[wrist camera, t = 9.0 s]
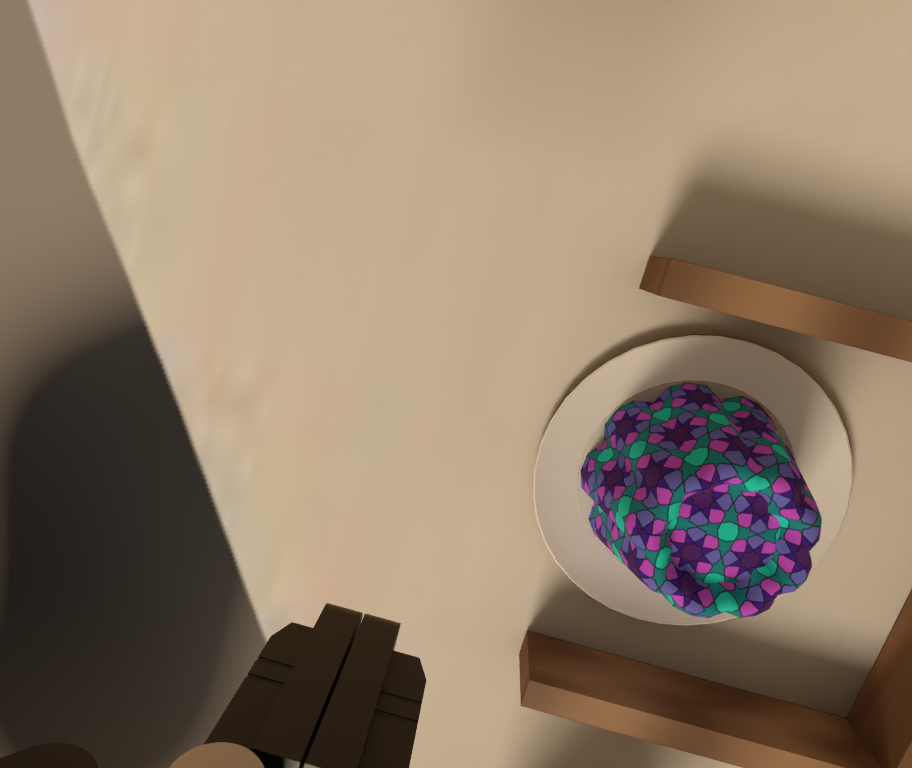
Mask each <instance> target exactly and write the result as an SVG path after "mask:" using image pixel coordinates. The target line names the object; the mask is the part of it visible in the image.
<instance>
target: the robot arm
mask: <svg viewBox="0 0 912 768" xmlns="http://www.w3.org/2000/svg"><path fill="white" fill-rule="evenodd" d="M362 616H363V613H361V612H357V611H354V610H350V609H347V608H343V607H339V606H336V605H332V604H329V603H327V604H326V605H325V607H324V609H323V611H322V613H321V614H320V616H319V618H318V620H317V622H316V624H315V626H314V628H311V627H307V626H303V625H300V624H296V623H293V622H292V623H290V624H289V625H287V626H286V627H284V628H283V629H281V630H280V631H278V632H277V633H275V634H274V635H272V636H271V637H270V639H269V640H268V642H267V644H266V645H265V647H264V648H263V650H262V652H261V653H260V655H259V657H258V660H256V661H255V663H254V665H253V666H252V668H251V669H250V671H249V673H248V676H247V677H245V679H244V681H243V682H242V684H241V686H240V687H239V689H238V690H237V692H236V694H235V695H234V697H233V699H232V700H231V702H230V703H229V705H228V706H227V708H226V710H225V711H224V713H223V715H222V716H221V718H220V719H219V721H218V723H217V724H216V726H215V727H214V729H213V731H212V732H211V734H210V735H209V737H208V739H207V740H206V742H205V743H204V745H202V746H198V747H196V748H194V749H192V750H190V751H188V752H187V753H185V754H183V755H182V756H181V757H180V758H179V759H177V760H176V761H175V762H174V763H173V764H172V766H171V767H170V768H409V764H410V759H411V754H412V749H413V744H414V739H415V734H416V729H417V723H418V719H419V714H420V709H421V704H422V699H423V694H424V689H425V684H426V678H425V674H424V671H423V668H422V665H421V661H420V658H418V657H414V656H411V655H407V654H403V653H400V652H396V651H394V648H395V644H396V640H397V636H398V632H399V628H400V624H401V623H397V622H394V621H390V620H386V619H383V618H379V617H376V616H372V615H369V614H365V615H364V618H363V620H362ZM361 621H362V622H361ZM0 768H98V765H97V762H96V760H95V759H94V757H93V756H92V755H91V754H90V753H89V752H88V751H86V750H85V749H83V748H81V747H78V746H76V745H73V744H66V743H47V744H41V745H36V746H32V747H29V748H26V749H24V750H21V751H18V752H16V753H13V754H10V755H8V756H5V757H3V758H0Z"/></svg>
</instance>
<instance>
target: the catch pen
mask: <svg viewBox="0 0 912 768" xmlns="http://www.w3.org/2000/svg"><path fill="white" fill-rule="evenodd" d="M640 289H643V290H645V291H648V292H651V293H653V294H656V295H659V296H662V297H666V298H670V299H674V300H677V301H681V302H685V303H689V304H693V305H696V306H700V307H704V308H708V309H712V310H715V311H719V312H723V313H727V314H731V315H734V316H738V317H742V318H746V319H750V320H753V321H757V322H761V323H765V324H769V325H772V326H776V327H780V328H784V329H787V330H791V331H795V332H799V333H803V334H806V335H810V336H814V337H818V338H822V339H825V340H829V341H833V342H837V343H841V344H844V345H848V346H852V347H856V348H860V349H863V350H867V351H871V352H875V353H879V354H882V355H886V356H890V357H894V358H898V359H901V360H905V361H909V362H912V321H908V320H904V319H900V318H897V317H893V316H889V315H885V314H881V313H878V312H874V311H870V310H866V309H862V308H858V307H855V306H851V305H847V304H843V303H839V302H836V301H832V300H828V299H824V298H820V297H817V296H813V295H809V294H805V293H801V292H797V291H794V290H790V289H786V288H782V287H778V286H775V285H771V284H767V283H763V282H759V281H755V280H752V279H748V278H744V277H740V276H736V275H733V274H729V273H725V272H721V271H717V270H714V269H710V268H706V267H702V266H698V265H694V264H691V263H687V262H683V261H679V260H675V259H671V258H663V257H654V256H650V258H649V261H648V264H647V267H646V270H645V273H644V276H643V279H642V282H641V285H640ZM519 660H520V692H521V706H523V707H527V708H531V709H534V710H538V711H541V712H545V713H549V714H552V715H556V716H559V717H563V718H567V719H570V720H574V721H577V722H581V723H585V724H588V725H592V726H595V727H599V728H603V729H606V730H610V731H613V732H617V733H621V734H624V735H628V736H631V737H635V738H639V739H642V740H646V741H649V742H653V743H657V744H660V745H664V746H667V747H671V748H675V749H678V750H682V751H685V752H689V753H693V754H696V755H700V756H703V757H707V758H711V759H714V760H718V761H721V762H725V763H729V764H732V765H736V766H740V767H743V768H912V591H911V593H910V595H909V597H908V599H907V601H906V603H905V605H904V607H903V609H902V611H901V613H900V615H899V617H898V619H897V621H896V623H895V625H894V627H893V629H892V631H891V633H890V635H889V637H888V639H887V641H886V643H885V645H884V647H883V648H882V650H881V652H880V654H879V656H878V658H877V660H876V662H875V664H874V666H873V668H872V670H871V672H870V674H869V676H868V678H867V680H866V682H865V684H864V686H863V688H862V690H861V692H860V694H859V696H858V698H857V700H856V702H855V704H854V706H853V708H852V710H851V712H850V714H849V716H848V718H847V719H846V718H842V717H838V716H835V715H831V714H827V713H824V712H820V711H817V710H813V709H809V708H806V707H802V706H798V705H795V704H791V703H787V702H784V701H780V700H777V699H773V698H769V697H766V696H762V695H758V694H755V693H751V692H747V691H744V690H740V689H737V688H733V687H729V686H726V685H722V684H718V683H715V682H711V681H708V680H704V679H700V678H697V677H693V676H689V675H686V674H682V673H678V672H675V671H671V670H668V669H664V668H660V667H657V666H653V665H649V664H646V663H642V662H638V661H635V660H631V659H628V658H624V657H620V656H617V655H613V654H609V653H606V652H602V651H598V650H595V649H591V648H588V647H584V646H580V645H577V644H573V643H569V642H566V641H562V640H559V639H555V638H551V637H548V636H544V635H540V634H537V633H533V632H529V631H527V632H526V635H525V638H524V641H523V644H522V647H521V651H520V654H519Z"/></svg>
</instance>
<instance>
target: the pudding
mask: <svg viewBox="0 0 912 768" xmlns="http://www.w3.org/2000/svg"><path fill="white" fill-rule="evenodd" d="M686 380H691V381H709V382H714V383H718V384H723V385H727V386H730V387H732V388H735V389H737V390H740V391H742V392H744V393H746V394H748V395H749V396H751V397H752V398H754V399H756V400H757V401H759V402H760V403H761V404H762V405H764V406H765V407H766V408H767V409H768V410H769V411H770V412H771V413H772V414H773V415H774V416H775V417H776V419H777V420H778V422H779V423H780V424H781V426H782V427H783V428H784V430H785V432H786V434H787V437H788V439H789V441H790V443H791V445H792V449H793V453H794V457H795V460H794V458H793V456H792V454H791V452H790V450H789V448H788V447H787V446H785V445H784V443H783V441H782V439H781V437H780V435H779V433H778V432H777V430H776V428H775V426H774V424H773V422H772V420H771V418H770V417H769V415H768V414H767V413H766V412H765V411H764V409H763V408H762V407H761V406H760V405H759V404H758V403H756V402H754V401H752V400H749V399H747V398H745V397H743V396H739V397H733V398H727V399H721V400H720V399H719V398H718V397H717V396H716V395H715V394H714V393H713V392H712V391H711V390H710V389H709V388H708V387H707V386H706V385H700V384H694V383H683V384H679V385H675V386H671V387H668V388H667V389H666V390H665V391H664V392H663V393H662V394H661V395H660V396H659V398H658V399H657V400H656V401H655V402H640V401H632V402H630V403H628V404H626V405H625V406H623V407H621V408H619V409H617V410H616V411H615V412H614V414H613V415H612V416H611V417H610V419H609V420H608V421H607V422H606V424H605V434H604V444H603V445H601V446H600V447H598V448H597V449H595V450H594V451H592V452H591V453H589V454H587V456H586V459H585V461H584V464H583V466H582V469H581V484H582V488H583V489H584V491H585V492H586V493H587V494H588V495H589V496H590V497H591V499H592V500H593V501H594V503H593V507H592V510H591V513H590V516H589V521H590V524H591V527H592V529H593V532H594V534H595V535H596V536H597V537H598V538H599V539H600V540H601V541H602V542H603V543H604V544H605V545H606V546H607V547H608V548H609V549H610V550H611V551H612V552H613V553H614V554H615V555H616V556H617V558H618V559H619V560H620V561H621V562H620V561H618V560H617V559H615V558H614V557H613V556H612V555H611V554H610V553H608V552H607V551H606V550H605V549H604V548H603V547H602V546H601V545H600V544H599V542H598V541H597V540H596V539H595V537H594V536H593V535H592V533H591V531H590V529H589V528H588V526H587V524H586V522H585V520H584V517H583V514H582V511H581V508H580V505H579V498H578V489H577V484H578V470H579V466H580V462H581V459H582V455H583V452H584V450H585V448H586V446H587V443H588V441H589V439H590V437H591V436H592V434H593V433H594V431H595V430H596V428H597V427H598V426H599V424H600V423H601V422H602V421H603V420H604V419H605V418H606V417H607V416H608V415H609V414H610V413H611V412H612V411H613V410H614V409H615V408H616V407H617V406H619V405H620V404H622V403H623V402H624V401H626V400H627V399H629V398H630V397H632V396H634V395H636V394H638V393H640V392H642V391H644V390H646V389H649V388H652V387H655V386H659V385H662V384H665V383H670V382H678V381H686ZM852 485H853V469H852V454H851V449H850V445H849V440H848V436H847V432H846V429H845V427H844V425H843V423H842V420H841V418H840V416H839V414H838V411H837V409H836V407H835V406H834V405H833V403H832V402H831V400H830V399H829V398H828V396H827V395H826V393H825V392H824V391H823V389H822V388H821V386H820V385H819V384H817V383H816V382H815V381H814V380H813V379H812V378H811V377H810V376H809V375H808V374H807V373H806V372H805V371H804V370H803V369H801V368H800V367H799V366H797V365H796V364H794V363H792V362H791V361H789V360H788V359H786V358H785V357H783V356H781V355H780V354H778V353H777V352H774V351H772V350H769V349H766V348H764V347H761V346H759V345H756V344H754V343H751V342H748V341H743V340H738V339H733V338H728V337H723V336H701V335H690V336H683V337H675V338H668V339H662V340H659V341H655V342H652V343H649V344H646V345H642V346H639V347H636V348H633V349H631V350H629V351H627V352H625V353H623V354H621V355H619V356H617V357H615V358H613V359H611V360H609V361H608V362H606V363H605V364H604V365H602V366H601V367H600V368H598V369H597V370H595V371H594V372H593V373H591V374H590V375H589V376H587V377H586V378H585V379H584V380H583V381H582V382H581V383H580V384H579V385H578V386H577V387H576V388H575V389H574V390H573V391H572V392H571V393H570V394H569V395H568V396H567V397H566V398H565V400H564V401H563V403H562V404H561V406H560V407H559V409H558V410H557V412H556V413H555V415H554V416H553V418H552V419H551V421H550V423H549V425H548V427H547V430H546V432H545V434H544V436H543V439H542V441H541V443H540V446H539V450H538V455H537V459H536V463H535V467H534V480H533V499H534V506H535V513H536V519H537V522H538V525H539V528H540V531H541V534H542V537H543V540H544V542H545V544H546V545H547V547H548V549H549V551H550V553H551V554H552V556H553V558H554V560H555V561H556V563H557V564H558V565H559V566H560V568H561V569H562V570H563V571H564V572H565V574H566V575H567V576H568V577H569V578H570V580H571V581H572V582H574V583H575V584H576V585H577V586H578V587H580V588H581V589H582V590H583V591H584V592H585V593H587V594H588V595H589V596H590V597H592V598H594V599H595V600H597V601H599V602H600V603H602V604H604V605H605V606H607V607H609V608H610V609H613V610H615V611H618V612H620V613H623V614H625V615H628V616H630V617H633V618H636V619H641V620H645V621H650V622H654V623H659V624H671V625H698V624H710V623H716V622H720V621H724V620H729V619H733V618H737V617H739V618H743V617H750V616H756V615H758V614H760V613H762V612H764V611H766V610H768V609H770V607H771V605H772V604H773V602H774V601H775V600H776V599H778V598H780V597H781V596H783V595H785V594H787V593H789V592H793V591H795V590H796V589H797V588H798V587H800V586H801V585H802V584H803V583H804V582H805V581H806V579H807V577H808V575H809V574H810V573H811V572H812V570H813V569H814V568H815V567H816V566H817V565H818V564H819V562H820V561H821V560H822V559H823V558H824V557H825V555H826V554H827V552H828V550H829V549H830V547H831V545H832V544H833V542H834V540H835V539H836V537H837V536H838V534H839V531H840V529H841V526H842V524H843V521H844V518H845V516H846V513H847V511H848V507H849V501H850V496H851V490H852Z"/></svg>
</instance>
